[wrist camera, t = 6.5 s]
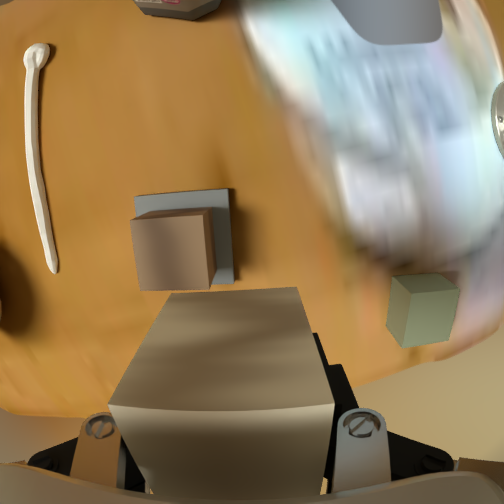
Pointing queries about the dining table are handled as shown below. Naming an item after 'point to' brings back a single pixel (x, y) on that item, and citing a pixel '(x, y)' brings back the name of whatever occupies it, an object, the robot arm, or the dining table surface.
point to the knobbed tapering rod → (37, 148)
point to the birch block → (228, 398)
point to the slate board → (220, 221)
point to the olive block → (421, 309)
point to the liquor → (177, 8)
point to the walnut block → (175, 249)
